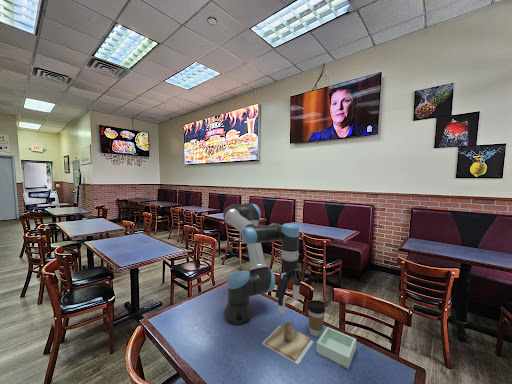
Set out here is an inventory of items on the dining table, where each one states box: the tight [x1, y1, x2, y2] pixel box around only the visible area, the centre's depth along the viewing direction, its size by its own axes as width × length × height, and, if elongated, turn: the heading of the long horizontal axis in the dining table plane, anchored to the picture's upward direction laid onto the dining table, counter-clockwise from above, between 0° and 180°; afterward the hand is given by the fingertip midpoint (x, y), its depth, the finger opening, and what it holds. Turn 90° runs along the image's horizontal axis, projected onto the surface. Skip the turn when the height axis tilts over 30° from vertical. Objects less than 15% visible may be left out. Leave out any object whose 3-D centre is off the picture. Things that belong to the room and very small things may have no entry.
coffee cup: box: [306, 299, 326, 338], centre depth 105 cm, size 8×8×15 cm
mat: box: [261, 324, 314, 365], centre depth 98 cm, size 18×16×1 cm
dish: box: [315, 326, 357, 371], centre depth 94 cm, size 13×13×5 cm
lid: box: [264, 321, 311, 362], centre depth 98 cm, size 15×15×8 cm
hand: (289, 305), depth 97 cm, fingers open, 13 cm apart
